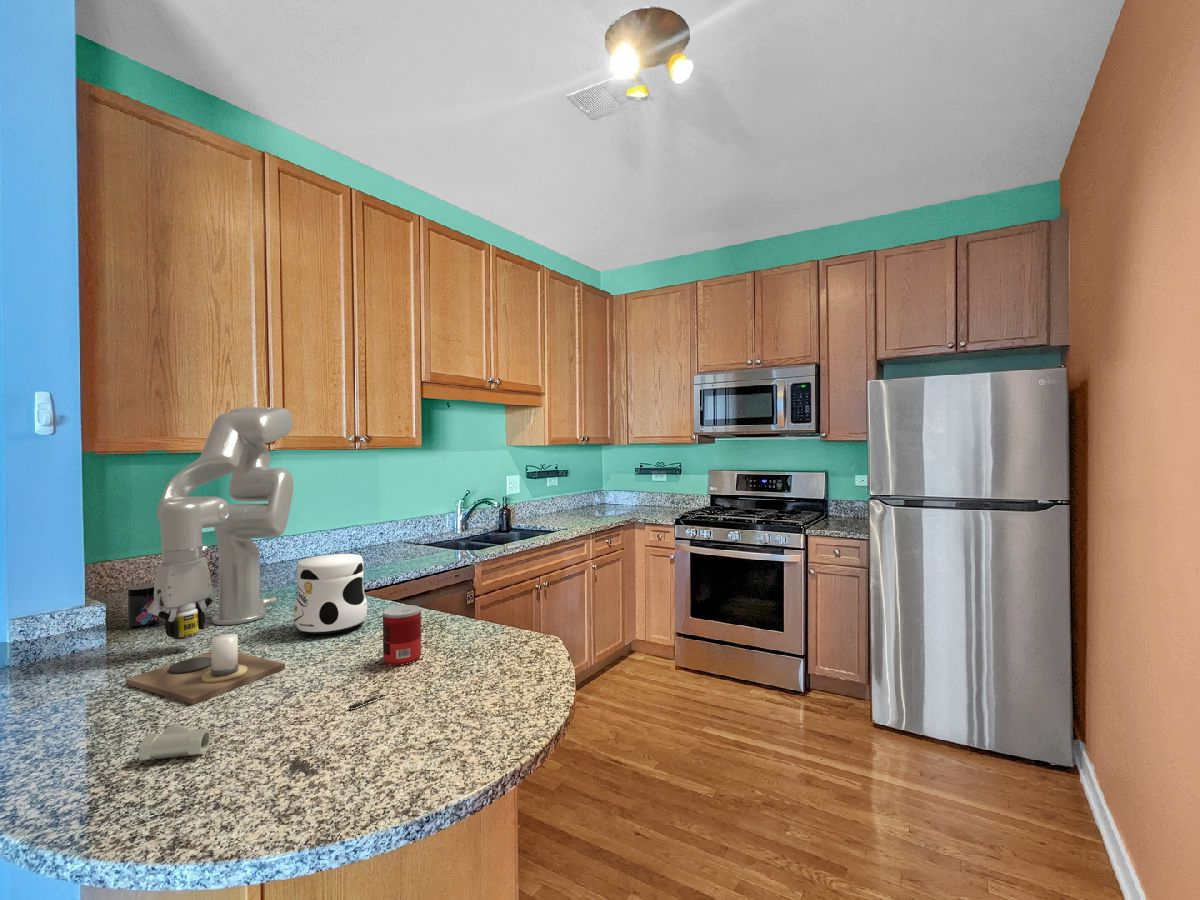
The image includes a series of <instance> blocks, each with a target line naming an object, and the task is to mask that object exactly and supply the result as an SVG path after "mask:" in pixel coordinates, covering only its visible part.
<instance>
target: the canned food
mask: <svg viewBox="0 0 1200 900" xmlns="http://www.w3.org/2000/svg"><path fill="white" fill-rule="evenodd" d="M421 612H422V610H421V607H420V606H419V605H413V604H406V605H405V604H402V605H396V606H392V607H388V608H387V609H385V610H383V612H382V653H383V655H382V657H383V658H382V659H383V662H384V663H386V664H385V665H387V664H391V665H401V664H407V663H410V662H413V661H415V660H417V659H418V658H419V657H420V658H421V655H422V613H421ZM420 658H419V659H420ZM419 659H418V660H419ZM418 660H417V661H418ZM415 662H416V661H415ZM413 663H414V662H413ZM407 665H408V664H407Z"/></svg>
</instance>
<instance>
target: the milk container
mask: <svg viewBox="0 0 1200 900" xmlns="http://www.w3.org/2000/svg"><path fill="white" fill-rule="evenodd" d="M364 575H365V574H364V559H363V556H362V555H360V554H355V553H353V554H352V553H334V554H324V555H317V556H312V557H307V558H303V559H300V560H298V561H297V568H296V576H297V577H296V587H297V588H296V591H297V593H296V594H297V595H296V601H295V604H294V607H293V615H292V616H293V622H294V626H295V628H296V630H298V632H300V633H303V634H305V635H306V634H307V635H318V636H319V635H330V634H337V633H340V632H342V633H343V632H346V631H349V630H351V629H355V628H358V626H359V625H361V624H362V623H364V621H365V620H366V617H367V615H368V601H367V597H366V593H365V589H364Z"/></svg>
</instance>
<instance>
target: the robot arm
mask: <svg viewBox="0 0 1200 900" xmlns="http://www.w3.org/2000/svg"><path fill="white" fill-rule="evenodd" d="M293 427H294V418H293V415H292V413H291V412H290V411H289V410H288V409H286V408H284V407H256V406H255V407H252V406H251V407H237V408H233V409H231V410H229V411H228V412H226V413H225V412H224V413H222V414H220V415H218V416H216V418H215V420H214V422H213V424H212V426H211V429H210V431H209V434H208V436H207V438H206V442H205V444H204V446H203V449H202V451H201V454H200V455H199V457H198V458H197V459H196V460H194V461H192V462H191V463H189V464H188V465H186V466H185V467H184V468H183V469H181V470H180V471H179V472H177V474H175V475H174V476H173V477H171V479H170V480H169V481H168V483H167V484H166V486H165V488H164V491H163V492H162V495H161V497H160V500H159V502H158V506H157V511H156V517H157V520H158V522H159V523H160V525H159V526H160V544H161V547H160V548H161V563H159V564H157V567H156V571H155V576H154V577H155V578H154V583H155V584H154V583H153V584H154V601H153V602H152V604H151V605H150V607H149V608H148V609H147V612H148V613H151V614H153V615H156V616H158V617H160V619H161V620H162V621H164V626H165V629H164V630H165V635H166V636H167V637H169V638H172V639H173V638H177V637H178V636H179V635H178V621H177V620H175V616H176V612H177V608H178V607H180V606H183V605H186V604H189V603H193V602H196V607H195V608H196V609H197V610H198V630H201V631H202V630H204V629H205V623H206V612H207V611H208V607H209V606H210V605H211V604H212V602H213V600H215V598H217V596H218V614H215V615H213V617H211V621H212V624H214V625H219V626H220V625H221V626H231V625H239V624H246V623H252V622H255V621H258V620H260V619H262V618H264V617H266V615H267V609H265V608H266V607H267V606H271V605H275V604H277V601H278V600H277V597H275V596H272V597H268V598H265V597H261V591H260V590H261V584H260V583H261V582H260V581H261V580H260V579H261V578H260V577H261V576H260V565H261V564H260V551H259V548H258V547H257V546H256V544H255V543H254V542H253V540H252V539H271V538H277V537H280V536H282V535H283V534H284V533H285V531H286V528H287V526H288V520H289V516H290V510H291V504H292V498H293V494H294V479H293V476H292V473H291V472H290V471H289V470H288V469H285V468H280V467H269V466H270V461H271V454H270V451H269V449H268V448H267V447H266V445H265V444H269V443H272V442H276V441H279V440H280V439H282V438H285V437H286V436H288V435H290V433H291V432H292V430H293ZM230 474H231V476H230V481H229V484H228V485H229V486H228V493H229V494H228V495H229V496H230V497H231V499H233V500H235V501H237V502H238V501H239V502H247V503H234V504H233V503H232V504H229V503H228V502H227V500H226V499H223V498H222V497H219V496H197V495H196V496H189V495H190V494H191V493H192V492H193V491H194V490H195V489H198V487H200V486H203V485H205V484H207V483H209V482H211V481H214V480H217V479H220V478H222V477H225V476H228V475H230ZM249 502H250V503H249ZM251 502H254V503H251ZM255 502H268V503H255ZM207 528H209V529H210V528H214V532H215V536H216V542H217V551H218V554H217V555H218V556H217V557H218V590H217V589H216V588H214V587H213V585H212V581H211V574H210V569H209V565H208V562H207V559H206V557H205V556H204V553H205V552H208V550H209V547H208V546H207V545H203V529H207ZM159 607H164V609H163V610H161V609H160V610H159ZM254 620H255V621H254Z"/></svg>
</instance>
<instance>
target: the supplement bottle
mask: <svg viewBox="0 0 1200 900" xmlns="http://www.w3.org/2000/svg"><path fill="white" fill-rule="evenodd" d="M195 607H196V602H193V603H189V604H186V605H183V606H180V607H178V608H177V612H176V616H175V620H177V621H178V635H179V636H178V637H177V638H172V639H173V641H174V642H187V641H192V640H194V639H196V638H198V636H199V634H200V633H199V630H200V629H198V610H197V609H196V608H195Z"/></svg>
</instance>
